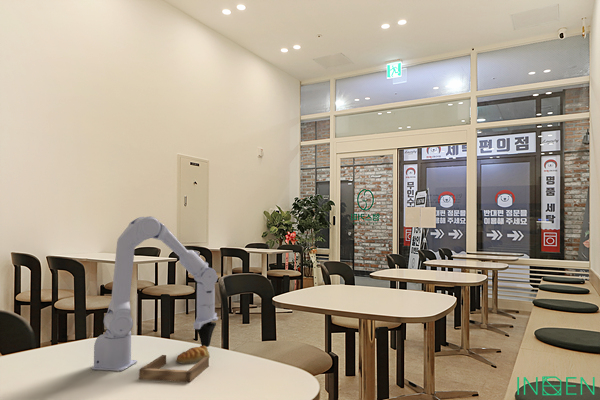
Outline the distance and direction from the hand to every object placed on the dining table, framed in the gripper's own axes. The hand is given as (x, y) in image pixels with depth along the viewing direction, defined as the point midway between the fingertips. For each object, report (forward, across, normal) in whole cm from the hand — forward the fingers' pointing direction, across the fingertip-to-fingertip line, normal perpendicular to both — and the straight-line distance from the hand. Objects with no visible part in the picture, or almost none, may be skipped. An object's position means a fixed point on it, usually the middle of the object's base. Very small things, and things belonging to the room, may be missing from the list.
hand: (205, 346), depth 136 cm
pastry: (+1, -10, -1) cm, 10 cm away
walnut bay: (+1, -20, 0) cm, 20 cm away
